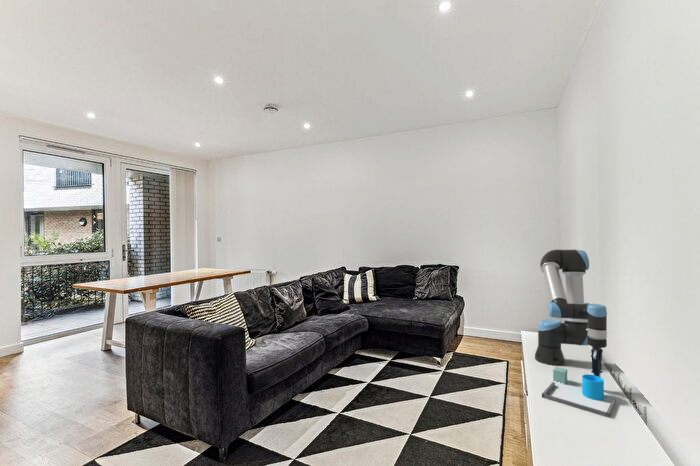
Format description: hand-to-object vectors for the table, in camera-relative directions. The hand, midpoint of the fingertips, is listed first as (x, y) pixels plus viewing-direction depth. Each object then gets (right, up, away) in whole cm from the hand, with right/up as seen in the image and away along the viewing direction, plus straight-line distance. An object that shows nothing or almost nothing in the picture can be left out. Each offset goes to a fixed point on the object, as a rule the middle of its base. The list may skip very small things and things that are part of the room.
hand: (597, 386), depth 167 cm
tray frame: (-15, -2, -9) cm, 18 cm away
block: (-12, -2, +10) cm, 15 cm away
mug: (-5, -2, -4) cm, 7 cm away
